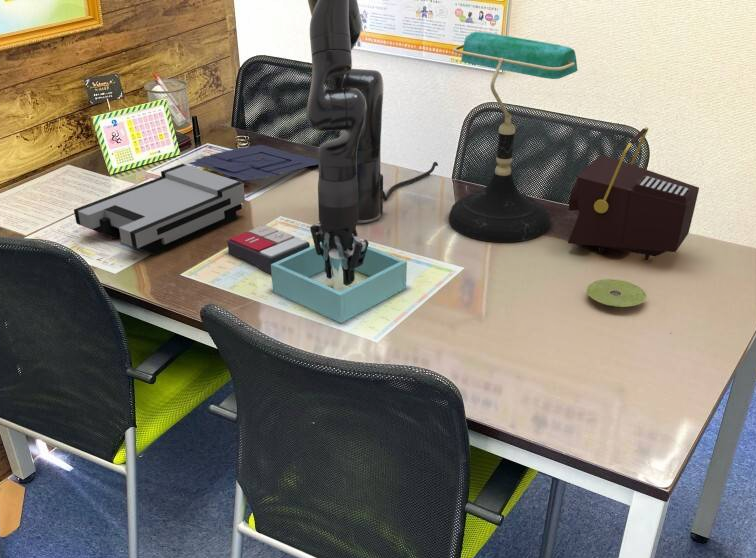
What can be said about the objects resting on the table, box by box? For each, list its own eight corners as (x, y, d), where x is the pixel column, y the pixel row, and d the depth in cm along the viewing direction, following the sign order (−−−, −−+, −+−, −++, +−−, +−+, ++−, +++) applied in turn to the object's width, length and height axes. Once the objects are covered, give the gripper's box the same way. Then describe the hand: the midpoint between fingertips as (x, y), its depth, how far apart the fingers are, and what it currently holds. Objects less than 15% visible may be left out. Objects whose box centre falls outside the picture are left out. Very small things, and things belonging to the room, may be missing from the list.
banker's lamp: (573, 221, 201) (600, 39, 178) (521, 254, 186) (543, 60, 163) (478, 193, 215) (491, 21, 192) (422, 222, 200) (430, 40, 177)
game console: (79, 238, 194) (72, 204, 189) (186, 195, 215) (182, 163, 210) (139, 264, 184) (133, 228, 179) (246, 216, 204) (243, 183, 199)
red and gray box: (265, 222, 192) (310, 239, 183) (267, 240, 194) (311, 258, 185) (225, 237, 186) (270, 255, 176) (228, 256, 188) (272, 274, 179)
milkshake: (325, 285, 175) (323, 239, 170) (351, 283, 176) (350, 238, 170) (326, 295, 171) (324, 249, 166) (353, 294, 172) (352, 247, 166)
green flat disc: (648, 293, 171) (650, 285, 170) (639, 319, 163) (641, 310, 162) (591, 283, 175) (593, 274, 174) (579, 308, 167) (581, 299, 166)
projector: (584, 225, 199) (601, 116, 184) (687, 247, 189) (714, 133, 174) (559, 252, 187) (575, 138, 173) (668, 277, 177) (694, 157, 163)
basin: (338, 260, 184) (337, 234, 181) (406, 288, 174) (407, 261, 170) (272, 291, 173) (270, 264, 170) (341, 323, 162) (340, 295, 159)
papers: (182, 172, 224) (182, 158, 223) (260, 154, 246) (260, 141, 244) (251, 193, 212) (251, 178, 211) (327, 172, 234) (328, 158, 232)
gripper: (379, 202, 161) (378, 285, 170) (325, 183, 169) (327, 263, 178) (352, 214, 156) (352, 298, 166) (297, 194, 164) (301, 275, 174)
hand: (339, 280), depth 172 cm, fingers closed on milkshake, 4 cm apart
